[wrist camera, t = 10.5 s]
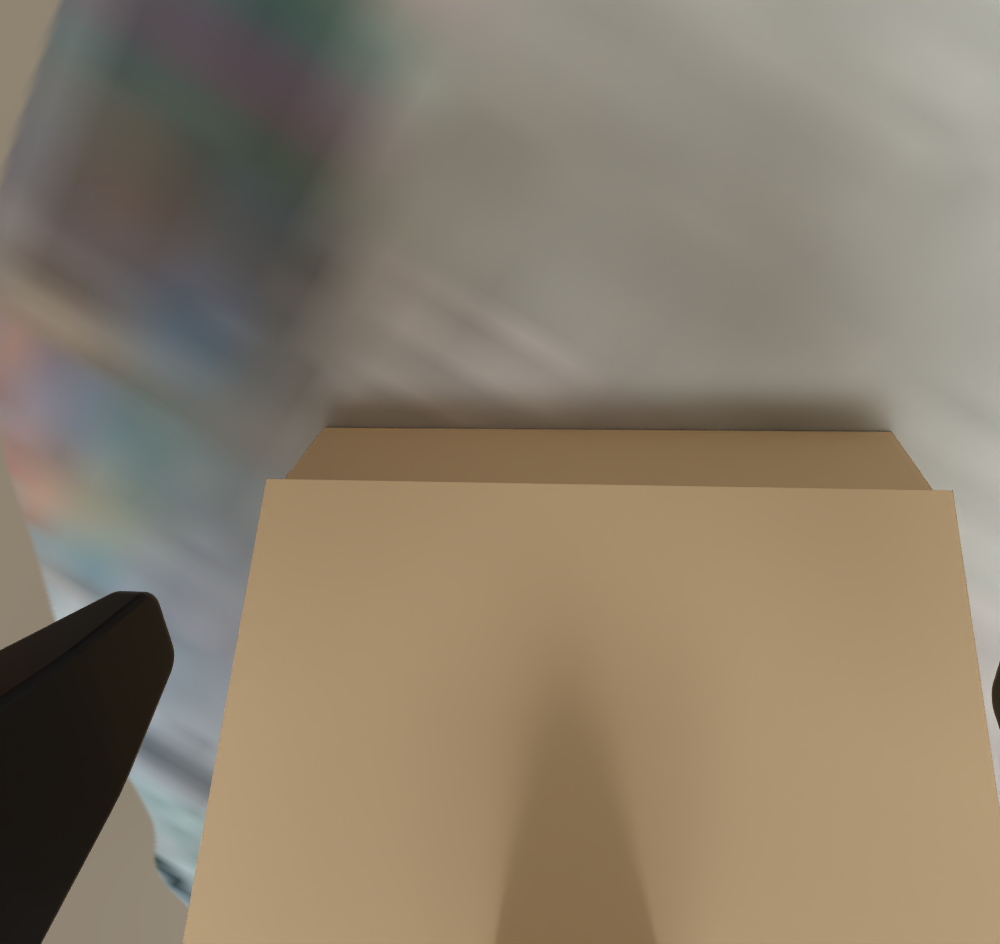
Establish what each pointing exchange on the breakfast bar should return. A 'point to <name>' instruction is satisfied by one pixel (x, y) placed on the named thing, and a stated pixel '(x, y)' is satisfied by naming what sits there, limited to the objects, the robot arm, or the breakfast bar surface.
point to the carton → (613, 457)
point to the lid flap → (601, 721)
